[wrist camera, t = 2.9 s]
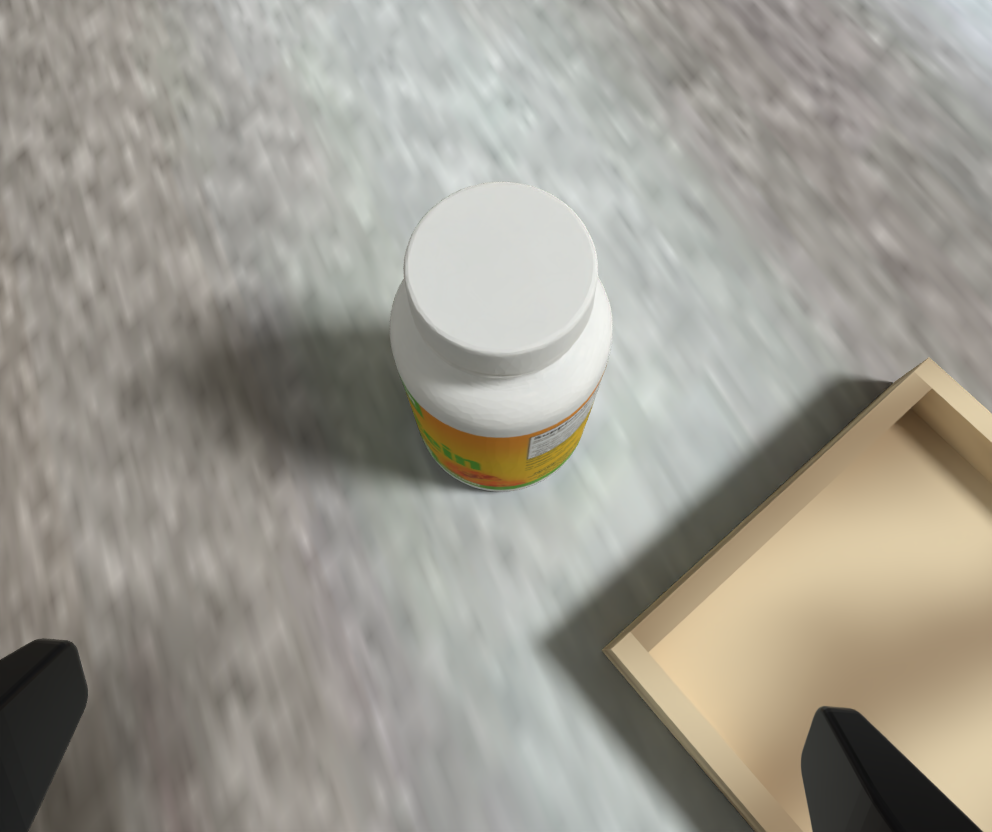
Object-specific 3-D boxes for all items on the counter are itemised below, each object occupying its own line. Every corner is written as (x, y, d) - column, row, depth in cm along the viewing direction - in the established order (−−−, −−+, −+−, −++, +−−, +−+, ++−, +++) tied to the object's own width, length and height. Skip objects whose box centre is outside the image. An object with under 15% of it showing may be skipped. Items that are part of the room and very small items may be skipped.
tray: (1247, 707, 21) (1323, 712, 19) (951, 1063, 19) (1003, 1110, 17) (894, 381, 25) (928, 357, 23) (601, 650, 22) (611, 649, 20)
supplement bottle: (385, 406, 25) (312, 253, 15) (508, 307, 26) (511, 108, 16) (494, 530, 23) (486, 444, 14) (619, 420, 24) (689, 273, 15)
